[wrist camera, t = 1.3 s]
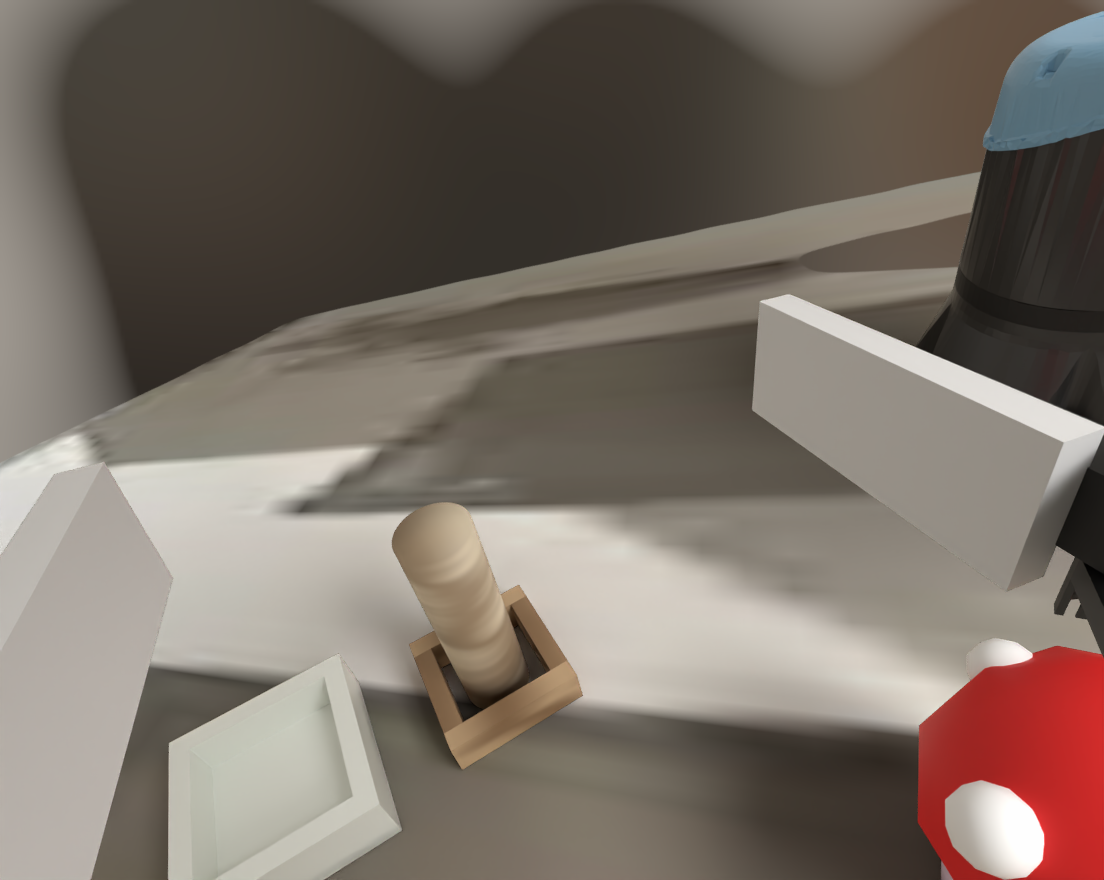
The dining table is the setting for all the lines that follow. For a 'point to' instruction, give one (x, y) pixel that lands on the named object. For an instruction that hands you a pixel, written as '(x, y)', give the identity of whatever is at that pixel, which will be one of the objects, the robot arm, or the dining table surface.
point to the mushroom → (1017, 767)
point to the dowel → (461, 600)
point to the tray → (280, 785)
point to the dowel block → (514, 709)
